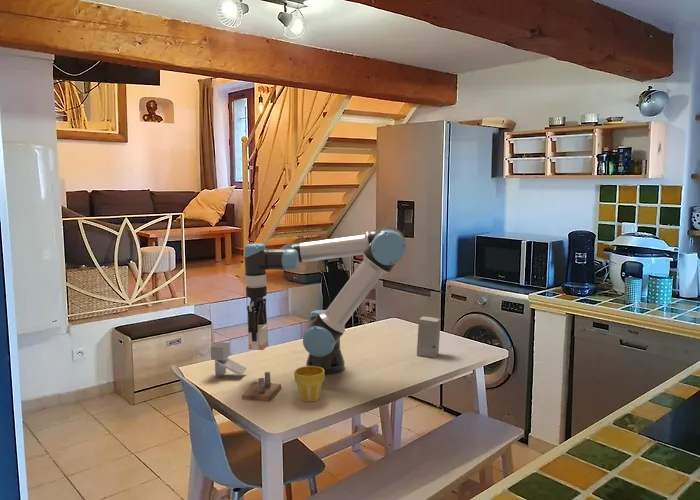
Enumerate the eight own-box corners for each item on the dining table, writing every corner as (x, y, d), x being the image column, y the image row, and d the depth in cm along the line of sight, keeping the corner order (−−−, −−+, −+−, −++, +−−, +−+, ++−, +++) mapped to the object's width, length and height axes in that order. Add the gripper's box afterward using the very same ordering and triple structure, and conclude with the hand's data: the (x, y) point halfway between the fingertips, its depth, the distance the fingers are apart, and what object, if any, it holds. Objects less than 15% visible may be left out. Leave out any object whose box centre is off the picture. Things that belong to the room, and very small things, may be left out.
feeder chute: (246, 374, 214) (246, 343, 212) (240, 379, 208) (239, 348, 207) (218, 371, 216) (217, 342, 215) (211, 377, 211) (210, 346, 209)
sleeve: (268, 345, 210) (267, 324, 209) (263, 350, 205) (262, 329, 204) (254, 344, 212) (253, 324, 210) (248, 349, 206) (247, 328, 205)
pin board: (281, 387, 200) (280, 370, 200) (269, 401, 189) (269, 382, 188) (254, 385, 202) (254, 368, 202) (242, 398, 191) (241, 380, 190)
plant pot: (294, 392, 196) (294, 365, 195) (324, 391, 197) (324, 364, 196) (294, 404, 186) (294, 376, 185) (325, 403, 187) (325, 375, 186)
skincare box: (416, 355, 235) (417, 319, 233) (420, 350, 241) (421, 315, 239) (436, 358, 232) (437, 321, 230) (440, 353, 238) (440, 317, 236)
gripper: (255, 280, 215) (258, 338, 218) (236, 290, 197) (239, 354, 200) (274, 281, 213) (276, 339, 216) (256, 291, 195) (259, 355, 198)
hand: (258, 346), depth 208 cm, fingers closed on sleeve, 6 cm apart
